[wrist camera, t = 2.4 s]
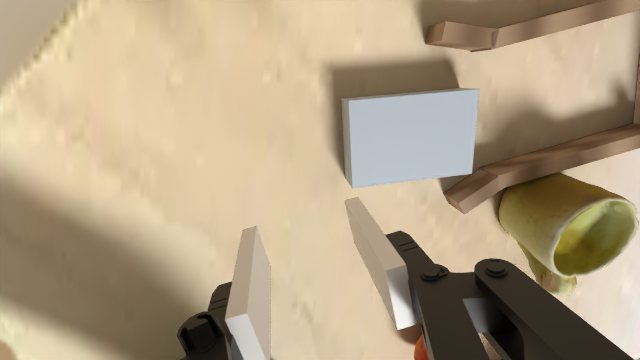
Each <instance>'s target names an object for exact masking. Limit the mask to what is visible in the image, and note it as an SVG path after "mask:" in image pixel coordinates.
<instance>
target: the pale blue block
mask: <svg viewBox="0 0 640 360" xmlns="http://www.w3.org/2000/svg"><path fill="white" fill-rule="evenodd" d="M478 99H479V89H468V88H454V89H443V90H431V91H420V92H408V93H397V94H386V95H374V96H363V97H352V98H341V103H342V123H343V142H344V162H345V178H346V180H347V181H348V183H349V184H350V185H351V187H352V188H359V187H367V186H375V185H383V184H392V183H400V182H408V181H417V180H425V179H433V178H441V177H450V176H458V175H466V174H472V167H473V156H474V145H475V133H476V122H477V110H478Z"/></svg>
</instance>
